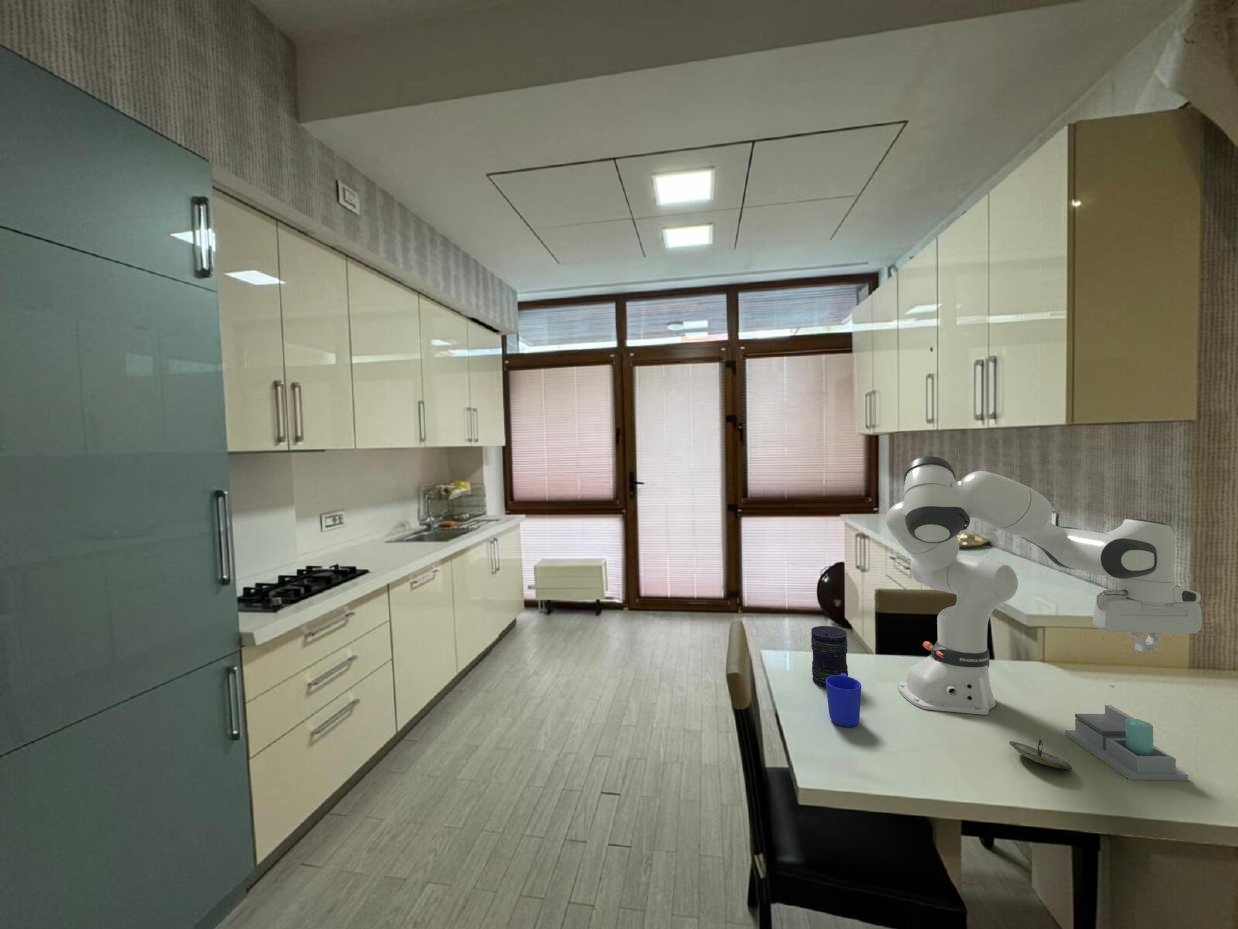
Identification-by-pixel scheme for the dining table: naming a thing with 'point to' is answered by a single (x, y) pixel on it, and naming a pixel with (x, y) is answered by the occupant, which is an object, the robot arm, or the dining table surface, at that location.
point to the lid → (1040, 755)
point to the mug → (843, 699)
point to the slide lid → (1106, 721)
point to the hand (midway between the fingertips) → (1145, 650)
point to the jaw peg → (1139, 737)
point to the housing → (1126, 755)
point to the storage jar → (828, 653)
